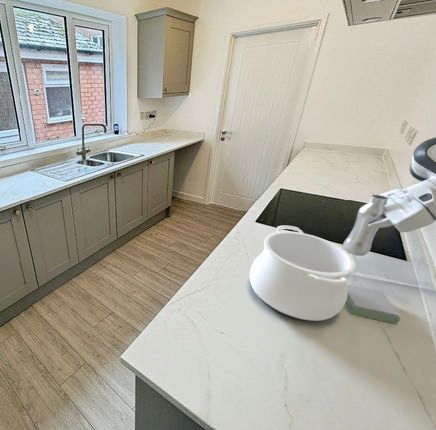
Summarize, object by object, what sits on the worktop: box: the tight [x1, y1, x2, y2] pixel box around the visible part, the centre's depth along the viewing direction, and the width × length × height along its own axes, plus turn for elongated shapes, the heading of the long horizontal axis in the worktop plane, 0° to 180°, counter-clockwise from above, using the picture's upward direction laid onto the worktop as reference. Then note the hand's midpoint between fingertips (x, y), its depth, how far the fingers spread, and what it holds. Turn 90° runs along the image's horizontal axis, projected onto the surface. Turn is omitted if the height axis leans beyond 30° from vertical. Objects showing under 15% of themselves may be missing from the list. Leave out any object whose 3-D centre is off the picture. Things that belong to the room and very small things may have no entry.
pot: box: [249, 225, 357, 322], centre depth 78 cm, size 28×24×17 cm
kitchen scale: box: [344, 284, 401, 325], centre depth 77 cm, size 10×10×3 cm
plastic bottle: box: [342, 194, 388, 257], centre depth 82 cm, size 6×7×20 cm
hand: (365, 222), depth 82 cm, fingers closed on plastic bottle, 6 cm apart
